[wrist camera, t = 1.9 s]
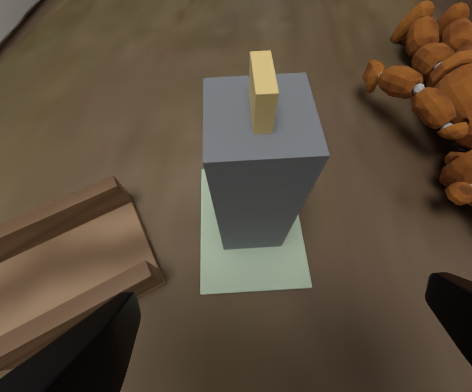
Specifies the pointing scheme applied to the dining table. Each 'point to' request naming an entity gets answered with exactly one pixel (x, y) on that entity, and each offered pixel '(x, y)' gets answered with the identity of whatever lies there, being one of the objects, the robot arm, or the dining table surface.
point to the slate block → (260, 152)
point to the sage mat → (248, 259)
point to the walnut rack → (69, 265)
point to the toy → (436, 84)
